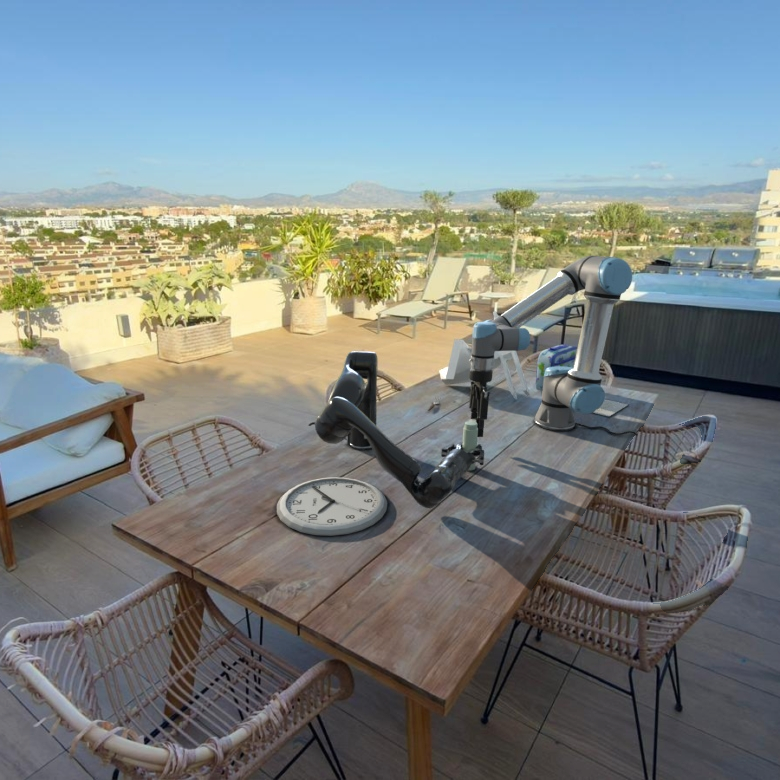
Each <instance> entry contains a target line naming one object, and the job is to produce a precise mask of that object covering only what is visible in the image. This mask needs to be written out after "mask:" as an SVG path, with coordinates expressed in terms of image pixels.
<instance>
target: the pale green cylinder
mask: <svg viewBox="0 0 780 780" xmlns="http://www.w3.org/2000/svg"><path fill="white" fill-rule="evenodd" d="M477 425H478V424H477V423H476V422H474V421H470V420H466V421H465V422H464V426H463V429H462V430H463V431H462V433H463V434H462V442H463V444H462V450H465V451H466V450H467V451H468V450H470V449H475V448H476V447H477V445H478V438H479V437H478V428H477ZM476 463H477V462H475V463H474V464H471V466H470V468H469V469H468V470H467V472H468V471H475V470H476Z"/></svg>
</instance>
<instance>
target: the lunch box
mask: <svg viewBox="0 0 780 780" xmlns="http://www.w3.org/2000/svg"><path fill="white" fill-rule="evenodd" d="M577 348H578V346H572V345H566V344H559V345H555V346H552V347H549V348H547V349H544V350H542V351H541V352H540V353H539V355H538V357H537V362H536V374H535V389H536V390H537V391H541V392H543V382H544V373H545V370H546V369H547V368H549V367H557V366H562V367H574V362H575V358H576V353H577Z"/></svg>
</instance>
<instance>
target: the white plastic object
mask: <svg viewBox="0 0 780 780" xmlns="http://www.w3.org/2000/svg"><path fill="white" fill-rule="evenodd" d="M492 315H493V319H494V320H495V319H496V318H498V317H499V316H500V315H499V314H498V312H497V311H496V310H495V311H492ZM471 353H472V346H469V345H468V343H466V342H465V340H464V339H463V338H460V339H458V338H454V340H453V344H452V349H451V353H450V357H449V362H448V366H446V367H444V368H442V369H440V370H439V371H438V372H439V376H440V381H442V383H443V384H444V385H445V386H449V385H458V384H467V383H468V384H469V383H471V381H472V380H470V378H469V377H470V369H471V362H470V361H469V360H470V359H471ZM510 360H513V363H514V366H515V369H516V372H517V376H518V380H519V382H520V385H521V389H522V391H523V393H524V395H525V396H526V397H528V396H531V395H530V390H529V388H528V387H529V386H528V384H527V381H526V378H525V375H524V371H523V369H522V368H523V367H522V366H521V362H520V359H519V355H518V351H495V353H494V365H493V369H492V371H493V372H494V371H495V370H496V369H497V368H499V367H500V366H502V370H503V373H504V376H505V380H506V383H507V386H508V390H509V393H510V394H511V395H512V397H513V398H514V399H515V400H517V392H516V391H517V390H516V388H515V385H514V381H513V378H512V375H511V371H510V369H509V365H508V361H510Z"/></svg>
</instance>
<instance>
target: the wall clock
mask: <svg viewBox="0 0 780 780" xmlns="http://www.w3.org/2000/svg"><path fill="white" fill-rule="evenodd" d="M387 509H388V500H387V498H386V496H385V494H384V493H383V492H382V491H381V490H380V489H379V488H377V487H376V486H374V485H372V484H371V483H369V482H365V481H362V480H359V479H355V478H349V477H338V476H337V477H335V476H333V477H332V476H331V477H322V478H317V479H312V480H307V481H305V482H302V483H299V484H297V485H295V486H293V487H292V488H290V489H288V490H287V491H286V492H285V493H284V494H283V495H281V496H280V498H279V499H278V502H277V503H276V515H277V517H278V518H279V520H280V521H281V522H282V523H283V524H285V525H286V526H287V527H288V528H290V529H293V530H295V531H297V532H299V533H303V534H308V535H312V536H327V537H328V536H329V537H331V536H332V537H333V536H342V535H350V534H352V533H356V532H361V531H363V530H366V529H368V528H369V527H372V526H373V525H375V524H376V523H378V522H379V521H380V520H381V519H382V518H383V517H384V516H385V514H386V512H387Z"/></svg>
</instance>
